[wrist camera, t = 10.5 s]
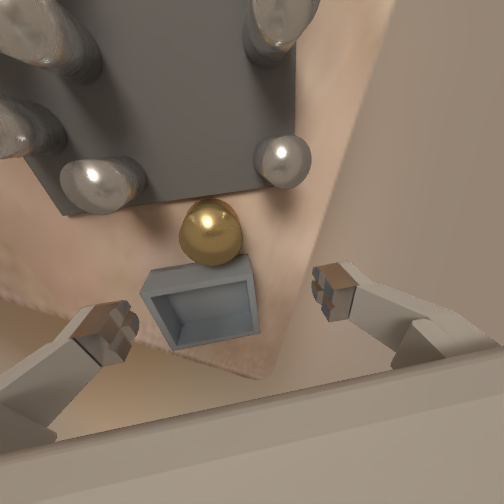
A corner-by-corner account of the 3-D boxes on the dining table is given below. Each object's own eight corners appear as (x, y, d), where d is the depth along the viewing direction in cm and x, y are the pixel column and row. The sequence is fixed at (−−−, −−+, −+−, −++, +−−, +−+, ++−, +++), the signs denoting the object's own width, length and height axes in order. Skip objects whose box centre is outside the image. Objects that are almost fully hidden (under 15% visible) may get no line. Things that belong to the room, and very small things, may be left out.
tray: (178, 325, 21) (172, 350, 19) (151, 270, 17) (139, 293, 14) (255, 310, 22) (260, 333, 19) (247, 254, 18) (252, 273, 15)
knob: (197, 252, 17) (193, 272, 14) (176, 206, 15) (167, 220, 12) (244, 239, 17) (248, 256, 14) (230, 191, 15) (232, 202, 12)
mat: (66, 214, 14) (62, 215, 13) (-298, -341, 5) (-335, -376, 5) (291, 182, 15) (293, 183, 15) (298, -296, 6) (302, -321, 6)
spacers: (63, 205, 13) (7, 228, 9) (-219, -229, 6) (-861, -771, 2) (287, 174, 14) (309, 185, 11) (289, -210, 7) (356, -542, 4)
